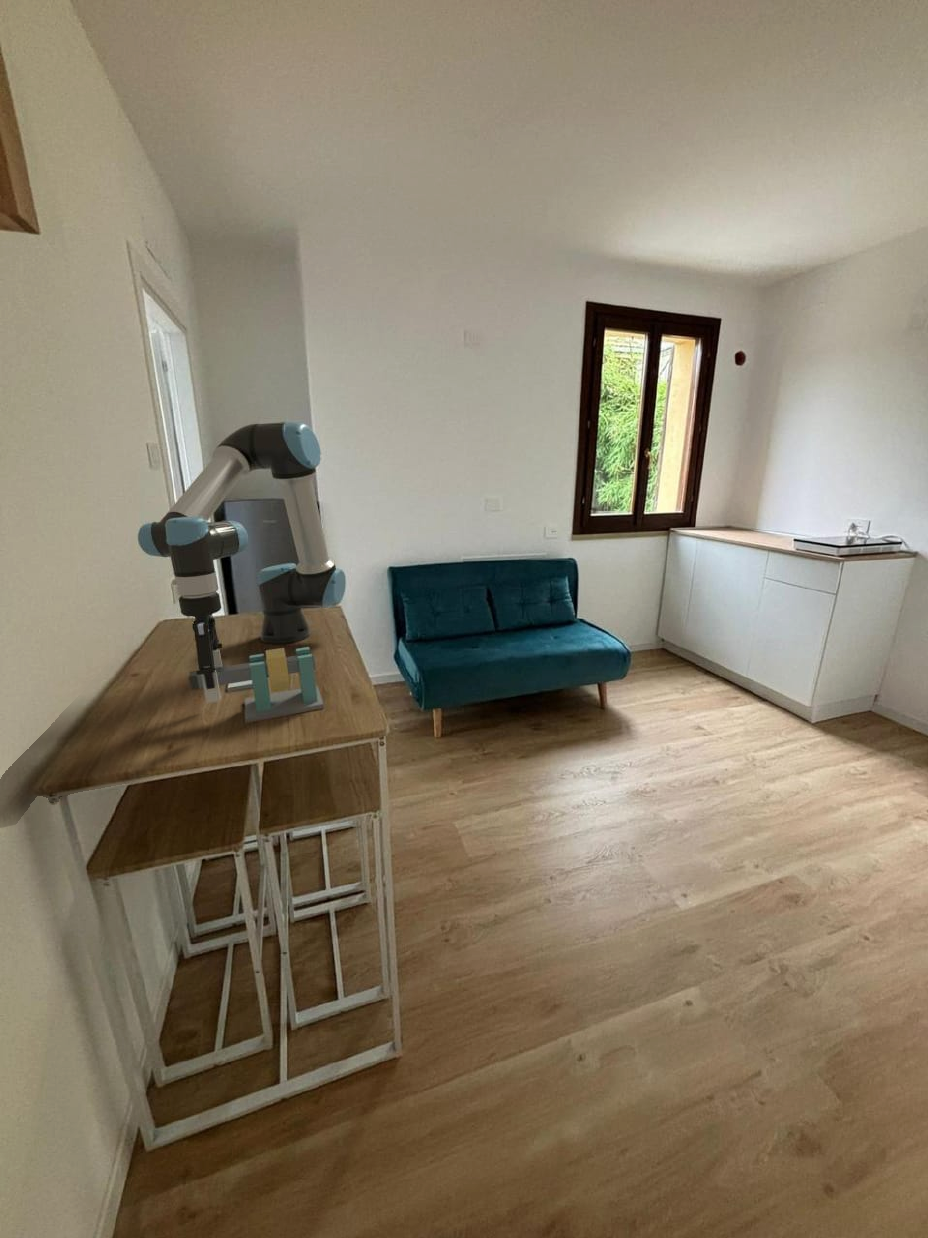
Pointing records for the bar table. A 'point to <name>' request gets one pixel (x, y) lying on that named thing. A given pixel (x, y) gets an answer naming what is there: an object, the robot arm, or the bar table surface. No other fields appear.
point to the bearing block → (285, 701)
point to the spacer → (277, 669)
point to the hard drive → (240, 685)
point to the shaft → (241, 672)
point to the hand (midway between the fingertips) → (215, 689)
